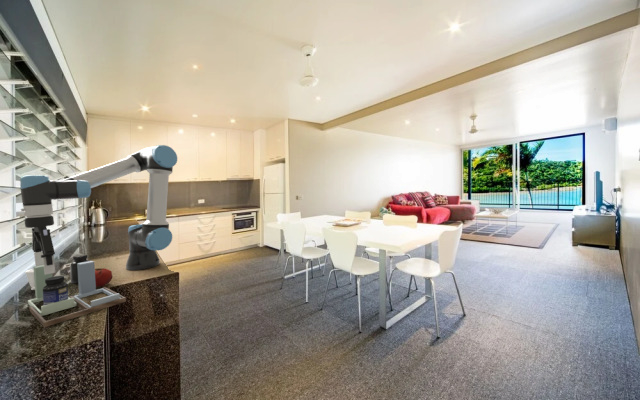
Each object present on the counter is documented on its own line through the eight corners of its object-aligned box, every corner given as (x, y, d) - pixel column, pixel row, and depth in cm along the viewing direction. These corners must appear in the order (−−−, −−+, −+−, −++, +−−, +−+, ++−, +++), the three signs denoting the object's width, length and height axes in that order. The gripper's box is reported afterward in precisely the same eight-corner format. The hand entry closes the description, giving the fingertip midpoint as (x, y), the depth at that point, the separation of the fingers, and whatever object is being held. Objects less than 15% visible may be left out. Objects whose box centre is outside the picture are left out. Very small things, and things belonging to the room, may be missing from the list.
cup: (22, 292, 107) (21, 273, 107) (33, 284, 116) (32, 267, 115) (46, 288, 110) (44, 270, 110) (55, 281, 119) (54, 264, 119)
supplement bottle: (85, 283, 117) (83, 256, 116) (67, 284, 115) (65, 258, 114) (94, 278, 123) (93, 253, 123) (77, 279, 122) (75, 254, 121)
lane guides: (105, 290, 107) (104, 286, 107) (125, 301, 96) (125, 297, 96) (29, 311, 90) (29, 306, 90) (44, 327, 78) (43, 322, 78)
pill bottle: (63, 310, 90) (61, 279, 89) (39, 314, 87) (37, 281, 87) (72, 303, 95) (70, 273, 95) (50, 306, 93) (48, 276, 92)
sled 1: (60, 293, 104) (58, 262, 104) (76, 305, 93) (74, 270, 92) (26, 302, 97) (24, 268, 96) (40, 316, 85) (37, 278, 84)
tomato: (94, 283, 116) (93, 266, 115) (117, 281, 118) (116, 264, 117) (79, 291, 107) (78, 272, 106) (105, 289, 108) (104, 270, 108)
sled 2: (100, 289, 107) (98, 259, 107) (121, 301, 96) (119, 267, 95) (71, 297, 100) (69, 264, 99) (90, 310, 88) (87, 273, 88)
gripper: (17, 216, 102) (24, 268, 104) (31, 219, 89) (39, 279, 90) (44, 213, 108) (50, 263, 110) (62, 216, 95) (68, 272, 96)
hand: (45, 270), depth 100 cm, fingers open, 13 cm apart
